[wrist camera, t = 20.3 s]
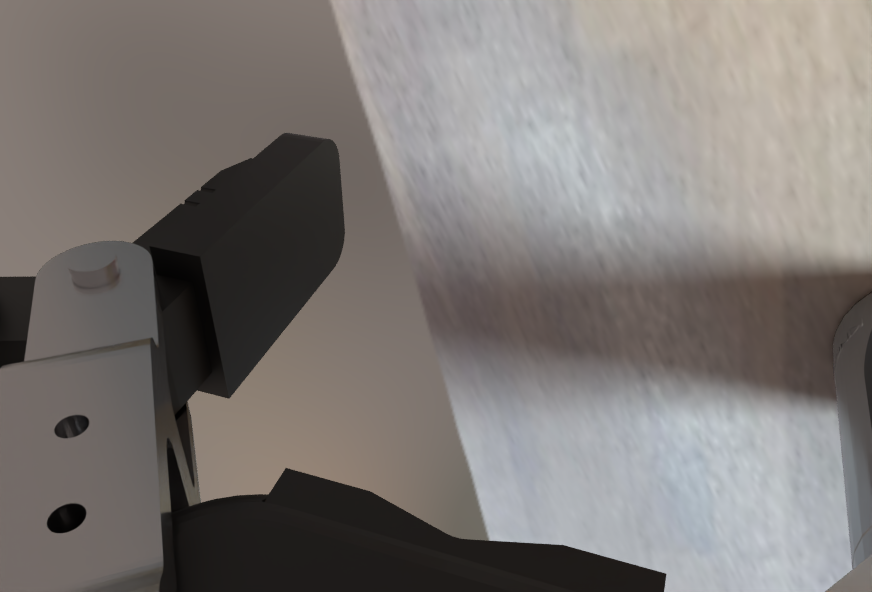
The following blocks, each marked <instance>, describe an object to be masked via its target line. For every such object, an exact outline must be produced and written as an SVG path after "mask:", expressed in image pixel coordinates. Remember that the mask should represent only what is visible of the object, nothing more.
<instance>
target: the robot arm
mask: <svg viewBox="0 0 872 592" xmlns="http://www.w3.org/2000/svg"><path fill="white" fill-rule="evenodd" d="M344 234H345V229H344V214H343V202H342V188H341V175H340V162H339V153H338V149H337V146H336V144H335V143H334V142H333V141H332V140H330V139H323V138H317V137H311V136H305V135H298V134H292V133H284V134H282V135H281V136H279V137H278V138H277V139H276V140H275V141H273V142H272V143H271V144H270V145H269V146H268V147H266V148H265V149H264V150H263V151H262V152H260V153H259V154H258V155H257V156H256V157H254V158H253V159H252V158H250V159H248V160H245V161H243V162H241V163H238V164H236V165H233V166H231V167H229V168H226V169H224V170H222V171H220V172H219V173H218V174H217V175H215V176H214V177H213V178H212V179H210V180H209V181H208V182H207V183H205V184H204V185H203V186H202V187H201V191H198V190H197V191H196V192H194V193H193V194H192V195H191V196H190V197H188V198H187V199H186V200H185V204H180V205H178V206H177V207H176V208H175V209H174V210H172V211H171V212H170V213H169V214H167V216H165V217H164V218H163V219H161V220H160V221H159V222H158V223H156V224H155V225H154V226H153V227H152V228H150V229H149V230H148V231H147V232H145V233H144V234H143V235H142V236H140V237H139V238H138V239H137V240H136V241H134V242H133V243H129V242H124V241H102V242H95V243H89V244H85V245H81V246H78V247H75V248H72V249H69V250H67V251H65V252H63V253H61V254H59V255H57V256H55V257H54V258H52V259H51V260H49V261H48V262H47V263H46V264H45V265H44V266H43V267H42V268H41V269H40V270H39V272H38V274H37V276H36V277H0V592H664V588H665V580H666V574H665V573H661V572H658V571H654V570H650V569H647V568H643V567H640V566H636V565H633V564H629V563H625V562H622V561H618V560H615V559H611V558H607V557H604V556H600V555H597V554H593V553H589V552H586V551H582V550H579V549H575V548H571V547H568V546H564V545H551V544H534V543H517V542H501V541H484V540H467V539H459V538H456V537H452V536H450V535H448V534H446V533H444V532H442V531H440V530H439V529H437V528H435V527H433V526H431V525H429V524H428V523H426V522H424V521H423V520H420V519H419V518H417V517H415V516H414V515H412V514H410V513H408V512H406V511H404V510H403V509H401V508H399V507H397V506H396V505H394V504H392V503H390V502H388V501H386V500H385V499H383V498H381V497H379V496H378V495H376V494H374V493H372V492H370V491H366V490H363V489H360V488H356V487H352V486H349V485H345V484H342V483H338V482H334V481H330V480H327V479H324V478H320V477H316V476H313V475H309V474H306V473H302V472H298V471H295V470H291V469H288V468H286V469H285V471H284V472H283V473H282V475H281V477H280V478H279V480H278V481H277V483H276V484H275V486H274V487H273V489H272V490H271V492H270V493H269V495H263V494H259V495H240V496H232V497H226V498H220V499H214V500H210V501H206V502H202V503H201V499H200V492H199V482H198V473H197V465H196V455H195V447H194V438H193V429H192V420H191V415H190V410H189V407H188V402H187V401H188V400H189V398H190V397H191V396H192V395H193V394H194V393H195V392H196V391H197V390H198V391H202V392H206V393H210V394H214V395H218V396H221V397H225V398H230V397H231V395H232V394H233V393H234V392H235V391H236V389H237V388H238V387H239V386H240V384H241V383H242V382H243V381H244V380H245V378H246V377H247V376H248V375H249V373H250V372H251V371H252V370H253V368H254V367H255V366H256V364H257V363H258V362H259V361H260V360H261V358H262V357H263V356H264V355H265V353H266V352H267V351H268V350H269V348H270V347H271V346H272V345H273V343H274V342H275V341H276V340H277V338H278V337H279V336H280V335H281V333H282V332H283V331H284V330H285V328H286V327H287V326H288V325H289V323H290V322H291V321H292V320H293V318H294V317H295V316H296V315H297V313H298V312H299V311H300V310H301V308H302V307H303V306H304V305H305V304H306V302H307V301H308V300H309V299H310V297H311V296H312V295H313V294H314V292H315V291H316V290H317V288H318V287H319V286H320V285H321V284H322V282H323V281H324V280H325V279H326V277H327V276H328V275H329V274H330V272H331V271H332V270H333V269H334V267H335V266H336V264H337V262H338V260H339V258H340V255H341V252H342V248H343V243H344ZM833 359H834V364H833V368H834V371H833V373H834V382H835V388H836V395H837V408H838V419H839V430H840V440H841V451H842V462H843V473H844V484H845V494H846V505H847V516H848V527H849V537H850V548H851V559H852V568H853V570H851V571H850V572H849V573H848V574H847V575H845V576H844V577H843V578H842V579H840V580H839V581H838V582H837V583H835V584H834V585H833V586H832V587H830V588H829V589H828V590H827V591H825V592H872V293H870V294H869V295H867V296H866V297H865V298H863V299H862V300H861V301H859V302H858V303H856V304H855V305H854V306H853V308H852V309H851V310H850V311H849V312H848V313H847V314H846V315H845V316H844V318H843V319H842V321H841V323H840V325H839V327H838V329H837V331H836V334H835V338H834V342H833Z"/></svg>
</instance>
